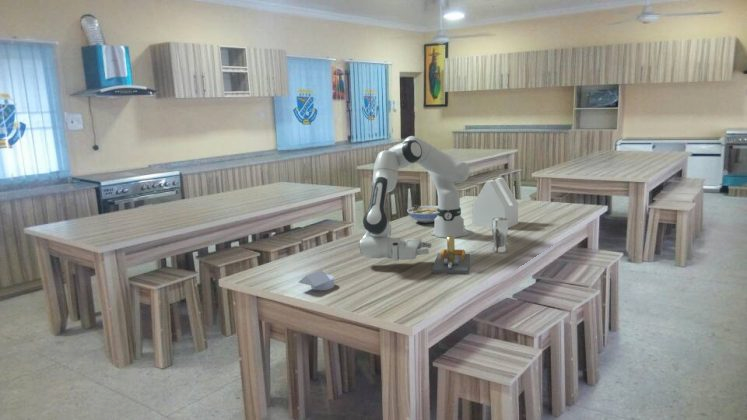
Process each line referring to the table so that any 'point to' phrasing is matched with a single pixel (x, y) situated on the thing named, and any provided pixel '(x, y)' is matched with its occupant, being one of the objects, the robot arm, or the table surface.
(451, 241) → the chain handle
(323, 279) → the wedge on round base
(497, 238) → the beer glass
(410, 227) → the table surface
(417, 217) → the ramen bowl
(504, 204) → the milk carton
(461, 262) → the rail board
